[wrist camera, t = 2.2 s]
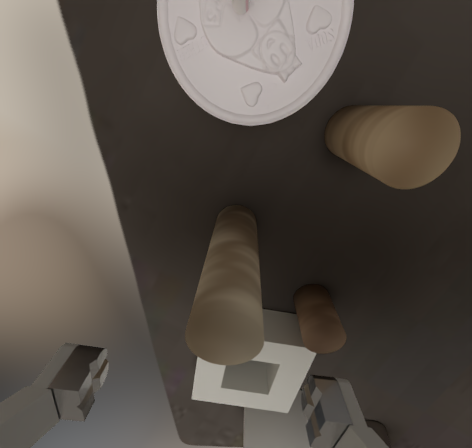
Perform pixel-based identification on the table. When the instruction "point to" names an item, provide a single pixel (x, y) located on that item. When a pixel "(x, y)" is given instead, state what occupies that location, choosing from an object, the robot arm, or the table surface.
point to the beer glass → (379, 431)
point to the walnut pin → (318, 320)
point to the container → (276, 427)
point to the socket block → (260, 370)
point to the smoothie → (253, 53)
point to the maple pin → (229, 293)
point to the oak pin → (395, 141)
